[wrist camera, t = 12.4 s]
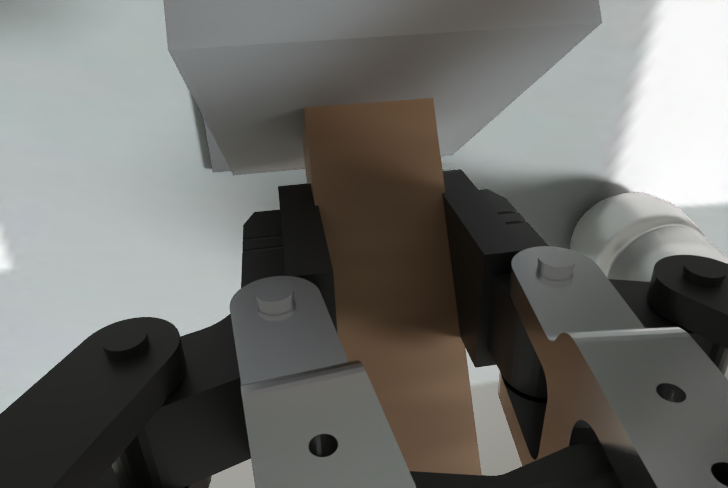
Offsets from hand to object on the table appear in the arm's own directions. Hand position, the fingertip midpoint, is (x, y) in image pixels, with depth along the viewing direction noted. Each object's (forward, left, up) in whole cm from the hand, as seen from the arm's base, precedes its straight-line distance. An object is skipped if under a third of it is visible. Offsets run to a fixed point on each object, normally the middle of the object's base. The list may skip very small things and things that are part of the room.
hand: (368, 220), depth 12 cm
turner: (0, -3, -1) cm, 3 cm away
